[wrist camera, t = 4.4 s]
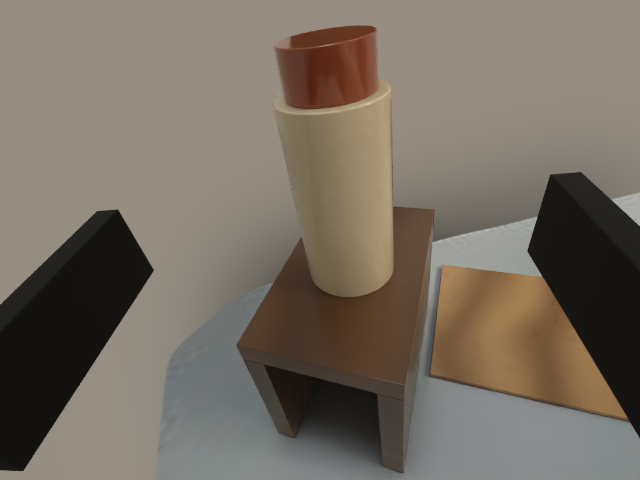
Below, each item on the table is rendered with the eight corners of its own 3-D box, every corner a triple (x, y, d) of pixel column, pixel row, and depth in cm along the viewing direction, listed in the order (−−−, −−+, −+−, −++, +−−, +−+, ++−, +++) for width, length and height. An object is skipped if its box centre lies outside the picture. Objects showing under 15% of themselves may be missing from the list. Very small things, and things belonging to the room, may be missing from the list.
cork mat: (662, 294, 33) (664, 291, 33) (740, 447, 23) (744, 444, 23) (442, 267, 40) (442, 264, 40) (429, 376, 30) (429, 373, 30)
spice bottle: (400, 244, 26) (400, 18, 17) (384, 304, 22) (374, 44, 13) (325, 236, 28) (290, 31, 19) (297, 290, 24) (236, 57, 15)
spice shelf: (427, 305, 36) (434, 209, 29) (403, 473, 25) (404, 385, 17) (336, 290, 40) (322, 201, 32) (278, 432, 28) (235, 345, 21)
